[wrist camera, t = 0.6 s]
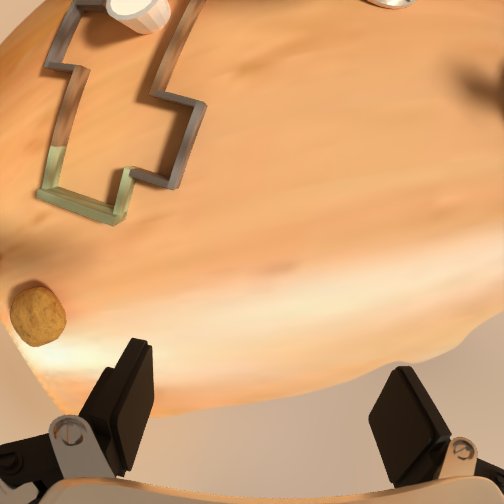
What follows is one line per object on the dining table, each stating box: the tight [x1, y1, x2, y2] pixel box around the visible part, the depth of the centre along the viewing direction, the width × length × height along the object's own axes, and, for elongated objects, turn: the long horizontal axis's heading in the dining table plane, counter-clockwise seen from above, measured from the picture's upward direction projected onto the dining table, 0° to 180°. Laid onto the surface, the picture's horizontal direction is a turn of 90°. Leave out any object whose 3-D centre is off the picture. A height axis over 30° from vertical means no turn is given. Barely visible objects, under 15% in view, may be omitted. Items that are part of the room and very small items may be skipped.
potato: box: [10, 287, 66, 347], centre depth 39 cm, size 9×13×7 cm
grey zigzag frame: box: [36, 0, 207, 226], centre depth 31 cm, size 32×24×4 cm
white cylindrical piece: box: [106, 0, 171, 34], centre depth 26 cm, size 7×7×7 cm
